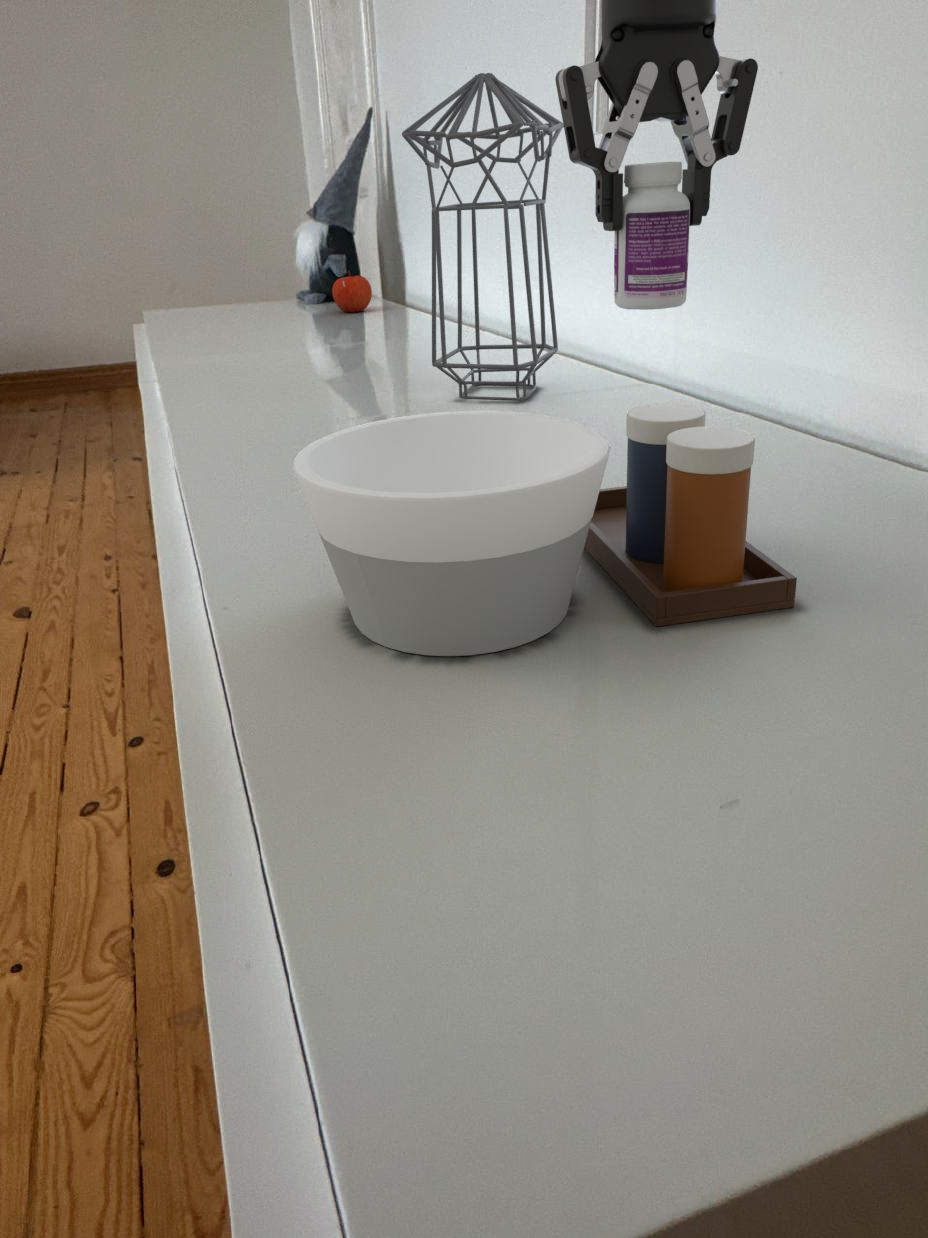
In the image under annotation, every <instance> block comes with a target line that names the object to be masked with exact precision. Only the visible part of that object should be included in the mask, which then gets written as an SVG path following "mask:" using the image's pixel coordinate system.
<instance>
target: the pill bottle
mask: <svg viewBox="0 0 928 1238" xmlns="http://www.w3.org/2000/svg"><path fill="white" fill-rule="evenodd" d="M682 175H683V163H682V161H661V162H645V163H633V164H626V165H625V166H624V173H623V184H624V187H625V188H627V193H626V194H623V211H622V229H621V230H620V231H614V239H613V240H614V242H613V243H614V245H613V247H614V248H613V249H614V252H613V255H614V256H613V259H614V260H613V281H614V282H613V284H614V285H613V287H614V289H613V291H614V293H613V295H614V297H613V298H614V304H615V305H616V306H617V307H618V308H620V309H624V310H642V311H643V310H644V311H645V310H646V311H647V310H648V311H649V310H650V311H651V310H663V309H672V308H678V307H682V305H684V304H685V302H686V301H687V292H688V271H689V254H690V247H689V245H690V226H689V224H690V202H689V200H688V198H687V196H686V195H685V194H683V193H682V191H679V189H678V187H679V185H680V184H682Z"/></svg>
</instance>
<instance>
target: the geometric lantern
mask: <svg viewBox="0 0 928 1238" xmlns="http://www.w3.org/2000/svg"><path fill="white" fill-rule="evenodd" d="M484 85H485V89H486V94H487V100H488V103H489V109H490V110H489V111H490V114H491V119H492V125H493V127H491V128H487V129H483V130H478V125H479V119H480V112H481V106H482V98H483V92H484ZM493 95H494V96H495V98H496V99H497V100H498V102H499V105H500V106H501V107H502V110H504V112H505V114H506V116H507V118H508V119H509V121H510V123H508V124H505V125H500V126H499V123H498V117H497V111H496V108H495V102H494V97H493ZM475 97H476V100H475V107H474V114H473V121H472V126H471V131H459V129H460V128H461V126H462V123H463V121H464V119H465V117H466V115H467V113H468V111H469V109H470V107H471V105H472V103H473V101H474V99H475ZM451 102H453V103H452V104H451V106H450V107H449V108H448V109H447V110H446V112H445V113H444V114H443V115H442V116H441V117H440V118H439V119H438V121H437V122H436V123H435V124H434V125H433V126H432V128H431V129H430V130H418V129H419V128H420V127H422V125H424V124H425V123H427V121H429V120H430V119H431V118H432V117H434V116H435V115H436V114H437V113H439V112H440V111H441V110H443V109H445V107H446V106H448V105H449V104H450V103H451ZM533 112H534V113H535V114H536V115H538V116H539V117H540V118H541V119H543V120H544V121H545V122H546V123H543V121H541V120H540V119H539V118H538V117H537V116H536V115H535V114H534V113H533ZM443 124H444V125H443ZM451 124H452V125H451ZM442 125H443V126H442ZM450 126H451V127H450ZM523 126H524V127H525V128H522V127H523ZM440 127H441V129H440V130H439V128H440ZM449 127H450V129H449ZM448 129H449V131H448V132H447V130H448ZM563 129H564V125H563V121H561V120H559V119H558V118H556V117H554V116H553V115H551V114H550V113H548V112H547V111H545V110H544V109H543V108H541V107H540V106H538V105H537V104H535V103H533V102H532V101H530V100H529V99H528V98H526V97H524V96H523V95H522V94H520V93H519V92H517V91H515V89H513V88H511V87H510V86H508V85H507V84H505V82H502V81H501V80H500V79H498V78H497V77H496V75H494V74H493V73H492V72H487V73H484V72H480V73H478V74H475V75H474V76H473V77H472V78H470V79H469V80H468V81H467V82H466V83H464V84H463V85H462V86H461V87H459V88H458V89H456V90H455V91H454V92H453V93H452V94H451V95H449V96H448V97H446V98H445V99H444V100H443V101H442V102H440V103H438V104H437V105H436V106H435V107H433V108H432V109H431V110H429V111H428V112H427V113H425V114H424V115H423V116H421V117H420V118H419V119H417V120H416V121H414V123H412V124H411V125H409V126H408V127H407V128H406V129H405V130H403V131H402V133H401V137H402V138H403V139H404V140H405V141H406V143H407V144H408V145H409V146H410V147H411V149H412V150H413V151H414V152H415V153H416V154H417V156H418V157H419V158H420V159H421V161H422V162H423V163H424V165H425V166H426V172H427V180H428V188H429V196H430V204H431V365H432V367H434V368H437V369H438V370H439V371H440V372H442V373H444V375H446V376H448V377H449V378H450V379H451V380H453V381H454V382H455V383H457V384H458V391H459V392H458V394H459V396H458V397H459V399H462V400H477V401H479V400H480V401H481V400H483V401H511V402H521V401H524V400H528V398H529V397H531V395H532V394H533V393H534V392H535V391H536V390H537V389H538V385H537V380H536V373H537V371H538V370H539V369H540V368H541V367H543V365H545V363H547V362H548V361H549V360H550V359H551V358H552V357H553V356H554V355H555V354H556V353H557V352H558V351H559V344H558V343H559V342H558V335H557V334H558V332H557V323H556V311H555V301H554V291H553V281H552V269H551V259H550V250H549V239H548V228H547V218H546V208H545V207H546V206H545V204H546V203H547V191H548V181H549V171H550V161H551V157H552V155H553V147H554V145H555V143H556V142H557V139H558V137H559V136H560V133H561V132H562V130H563ZM437 130H439V131H437ZM446 132H447V133H446ZM503 132H505V133H503ZM527 133H531V140H532V141H531V142H530V143H529V144H528V145H527V146H526V147H525V148H524V149H523V144H524V135H525V134H527ZM546 136H548V144H547V146H546V148H545V137H546ZM518 137H519V145H518V155H516V156H515V157H503V156H502V157H501V156H500V155H501V146H502V144H503V143H504V142H505V141H506V140H507V139H512V138H518ZM431 138H433V139H432V140H431ZM444 138H445V141H446V142H445V143H446V147H447V151H448V157H449V158H448V157H446V156H445V155H444V154H442V150H443V149H442V147H443V142H444V141H443V139H444ZM476 139H482V140H495V141H494V142H493V143H491V144H490V145H488V147H487V148H485V149H484V148H482V147H481V146H480V145H477V144H476V142H475V140H476ZM451 140H458V141H460V142H461V143H463V144H465V145H467V146H468V147H470V148H471V151H472V155H473V158H467V159H464V160H459V161H454V156H453V155H454V154H453V150H452V145H451ZM415 142H416V143H417V144H416V143H415ZM539 142H540V149H539ZM418 145H420V146H421V147H422V150H421V149H420V148H419V146H418ZM495 149H496V155H494V154H492V152H493V151H494V150H495ZM532 149H533V154H534V155H533V156H534V162H533V164H532V167H531V169H530V172H529V174H528V175H527V173H526V171H525V169H524V167H523V165H522V163H521V162H522V158H524V157H525V156H526V155H527V154H528V153H529V152H530V151H531V150H532ZM428 152H429V153H431V154H432V155H433V161H430V160H429V159H428ZM477 152H478V153H479V154H478V153H477ZM485 157H486V158H488V159H489V160H491V163H490V165H489V167H488V168H487V166H486V164H485V163H484V161H483V159H484V158H485ZM441 161H442V162H443V163H444V164H445V165H447V166H449V167H450V170H449V173H447V171H446V169H445V167H444V166H443V165H441ZM541 161H545V162H544V171H543V182H542V193H541V198H539V196H538V194H537V192H536V190H535V188H534V186H533V184H532V182H531V180H532V177H533V174H534V171H535V169H536V167H537V164H538V163H539V162H541ZM497 163H508V164H517V165H518V167H519V169H520V171H521V173H522V175H523V176H524V178H525V180H526V182H525V185H524V186H523V190H522V192H521V195H520V197H519V199H515V200H514V199H512V200H507V198H506V197H505V195H504V194H503V192H502V190H501V188H500V187H499V185H498V184H497V182H496V181H495V179H494V177H493V175H492V172H493V170H494V168H495V166H496V164H497ZM474 164H478V165H479V166H480V169H481V170H482V171H483V173H484V177H483V180H482V181H481V183H480V185H479V187H478V189H477V192H476V194H475V196H474V198H473V199H472V202H463V201H462V200H461V197H460V196H459V194H458V192H457V190H456V188H455V187H454V185H453V183H452V181H451V177H452V175H453V173H454V170H455V168H460V167H465V166H469V165H474ZM432 169H436V170H439V169H441V171H442V173H443V175H444V177H445V179H446V180H445V183H444V185H443V188H442V190H441V193H440V196H439V199H438V201H437V203H436V197H435V189H434V181H433V173H432ZM488 181H489V183H490V184H491V186H492V188H493V189H494V191H495V193H496V194H497V196H498V197H499V199H500V200H499V201H498V200H497V201H484V202H483V201H482V202H478V200H479V198H480V196H481V194H482V192H483V191H484V188H485V186H486V184H487V182H488ZM448 185H449V186H450V188H451V190H452V192H453V193H454V195H455V197H456V199H457V201H458V203H454V204H448V205H442V206H441V203H442V201H443V198H444V196H445V193H446V190H447V188H448ZM528 187H529V188H530V190H531V192H532V194H533V196H534V198H527V199H524V197H525V194H526V192H527V189H528ZM534 205H535V219H536V222H535V223H536V243H537V265H538V284H539V285H538V288H539V289H538V290H539V314H540V336H541V337H540V340H541V343H537V339H536V330H535V329H536V328H535V318H534V317H535V316H534V306H533V296H532V284H531V283H532V282H531V273H530V262H529V261H530V260H529V252H528V240H527V230H526V229H527V228H526V217H525V207H529V206H534ZM497 209H498V210H499V209H503V222H504V223H503V224H504V240H505V254H506V255H505V256H506V270H507V271H506V272H507V286H508V302H509V315H510V316H509V317H510V332H511V333H510V334H511V344H481V335H480V329H481V328H480V305H479V304H480V303H479V301H480V300H479V299H480V298H479V275H478V273H479V272H478V244H477V243H478V241H477V217H476V216H477V215H476V213H477V212H476V210H497ZM509 210H518V214H519V225H520V238H521V248H522V256H523V257H522V259H523V269H524V279H525V288H526V289H525V291H526V301H527V313H528V322H529V335H530V343H522V344H521V343H519V344H518V340H517V339H518V338H517V326H516V325H517V324H516V311H515V310H516V309H515V293H514V280H513V277H514V276H513V263H512V247H511V233H510V232H511V231H510V221H509V220H510V219H509ZM455 211H456V257H457V259H456V262H457V263H456V264H457V265H456V266H457V267H456V268H457V272H456V273H457V275H456V277H457V347H456V348H455V349H453V350H452V351H450V352H447V343H446V342H447V341H446V339H447V338H446V323H445V322H446V321H445V302H444V282H443V280H444V279H443V263H442V244H441V243H442V242H441V240H442V239H441V224H440V223H441V221H440V212H455ZM462 211H471V241H472V243H471V245H472V272H473V273H472V275H473V299H474V301H473V303H474V330H475V332H474V333H475V345H464V346H463V264H462V263H463V261H462V260H463V259H462V258H463V255H462V253H463V251H462V249H463V248H462V246H463V245H462V243H463V241H462V231H463V230H462ZM543 250H544V261H545V272H546V282H547V283H546V284H547V292H548V303H549V304H548V305H549V312H550V323H551V333H552V345H551V344H547V340H546V339H547V338H546V337H547V335H546V313H545V312H546V310H545V308H546V307H545V287H544V263H543V262H544V261H543ZM437 289H438V290H437ZM437 291H438V307H439V309H438V310H439V329H440V345H441V346H440V347H441V357H439V358H437ZM521 349H522V350H523V349H524V350H527V349H528V350H529V349H531V351H532V352H531V353H532V360H531V361H527V362H523V363H520V364H519V357H518V356H519V355H518V350H521ZM537 349H539V350H537ZM480 350H512V359H513V360H512V361H513V364H498V363H497V364H491V363H490V364H489V363H481V357H480V356H481V355H480ZM544 350H549V351H547V352H546V353H544V354H543V355H542V353H543V352H544ZM464 351H476V363H471V362H470V360H469V359H468V357H467V355H466V353H465V352H464ZM458 353H460V354H461V356H462V358H463V360H464V361H465V362H466V363H448V359H450V358H451V357H453V356H455V355H456V354H458ZM446 369H447V370H448V371H447V370H446ZM454 369H467V370H468V369H470V371H469V372H468V373H467V374H465V375H464V376H463V377H462V378H461V376H459V374H457V372H456V371H454ZM526 371H527V373H526V374H525V375H524V377H523V378H522V380H520V372H526ZM497 372H499V373H501V372H515V381H509V380H508V381H504V380H502V381H500V380H499V381H497V380H496V381H495V380H494V381H493V380H491V381H490V380H482V373H497ZM475 373H478V375H477V377H478V378H477V380H475ZM469 377H470V379H471V380H467V379H468V378H469ZM531 377H532V384H531ZM467 385H470V386H469V387H468V386H467ZM477 387H512V388H513V387H515V397H508V396H507V397H504V396H474V395H468V393H469V392H470V391H471V390H472V389H474V388H477ZM521 387H522V396H521V397H520V388H521ZM527 388H531V389H530V390H529V392H528V393H527Z"/></svg>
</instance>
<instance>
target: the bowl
mask: <svg viewBox="0 0 928 1238" xmlns="http://www.w3.org/2000/svg"><path fill="white" fill-rule="evenodd" d="M610 452H611V445H610V443H609V441H608V439H607V437H606V436H605V434H603V433H602V432H601V431H599V430H598V429H596V428H595V427H592V426H590V425H587V424H585V423H582V422H580V421H575V420H572V419H568V418H563V417H561V416H560V417H559V416H553V415H548V414H542V413H532V412H523V411H509V410H507V411H506V410H505V411H504V410H459V411H441V412H440V411H439V412H431V413H430V412H429V413H421V414H419V413H418V414H411V415H404V416H398V417H397V416H396V417H391V418H385V419H381V420H375V421H371V422H365V423H362V424H359V425H354V426H351V427H347V428H343V429H341V430H338V431H335V432H333V433H330V434H327V435H325V436H323V437H321V438H319V439H317V440H314V441H313V442H310V443H309V444H308V445H306V446H305V447H304V448H302V449H301V450H300V451H299V452H298V453H297V454H296V456H295V458H294V460H293V463H292V467H293V474H294V476H295V478H296V481H297V484H298V487H299V489H300V492H301V494H302V497H303V498H304V501H305V504H306V505H307V509H308V511H309V514H310V516H311V520H312V521H313V525H314V527H315V529H316V531H317V533H318V534H319V537H320V540H321V542H322V545H323V547H324V551H325V552H326V554H327V557H328V560H329V562H330V564H331V567H332V569H333V573H334V574H335V577H336V580H337V582H338V584H339V588H340V590H341V592H342V595H343V597H344V600H345V603H346V605H347V607H348V609H349V610H348V611H349V612H350V615H351V618H352V621H353V622H354V626H356V627H357V629H358V630H359V632H360V633H361V634H362V635H364V637H366V638H368V639H369V640H370V641H372V642H374V643H376V644H378V645H381V646H383V647H386V648H388V649H393V650H396V651H399V652H403V653H407V654H413V655H414V654H415V655H423V656H433V657H434V656H435V657H461V656H463V657H464V656H476V655H483V654H489V653H496V652H500V651H505V650H508V649H513V648H517V647H519V646H522V645H525V644H527V643H530V642H534V641H535V640H538V639H539V638H541V637H543V636H545V635H547V634H548V633H549V634H550V632H551V631H553V630H554V629H555V628H557V627H558V626H559V625H560V624H561V623H562V622H563V620H564V619H565V617H566V616H567V614H568V610H569V606H570V602H571V599H572V595H573V591H574V587H575V583H576V580H577V576H578V572H579V569H580V565H581V560H582V557H583V553H584V549H585V548H584V546H585V542H586V538H587V534H588V530H589V527H590V523H591V519H592V517H593V514H594V510H595V506H596V502H597V499H598V495H599V491H600V489H601V487H602V484H603V483H602V482H603V479H604V475H605V471H606V469H607V463H608V461H609V456H610Z"/></svg>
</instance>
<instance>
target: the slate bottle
mask: <svg viewBox="0 0 928 1238" xmlns="http://www.w3.org/2000/svg"><path fill="white" fill-rule="evenodd" d="M706 413H707V412H706V410H705V409H704V408H702V407H700V406H697V405H693V404H687V403H678V402H659V403H658V402H657V403H656V402H655V403H648V404H647V403H646V404H642V405H638V406H635V407H631V408H630V409H628V410H627V412H626V427H625V428H626V431H625V434H626V437H627V450H626V453H627V455H626V486H627V501H626V552H627V554H628V555H629V556H631V557H633V558H635V559H638V560H641V561H645V562H651V563H664V545H665V519H666V492H667V466H668V465H667V463H666V448H667V436H668V435H669V434H670V433H672V432H674V431H677V430H680V429H685V428H691V427H703V426H706V415H707V414H706Z"/></svg>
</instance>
